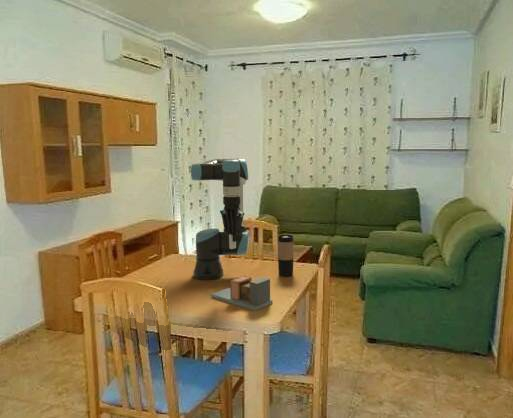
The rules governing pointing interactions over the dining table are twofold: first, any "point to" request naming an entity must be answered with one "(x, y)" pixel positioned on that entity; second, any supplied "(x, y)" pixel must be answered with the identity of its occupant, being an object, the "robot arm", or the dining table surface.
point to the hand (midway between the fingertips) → (232, 248)
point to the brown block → (245, 291)
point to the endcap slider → (237, 286)
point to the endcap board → (257, 295)
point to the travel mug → (285, 255)
